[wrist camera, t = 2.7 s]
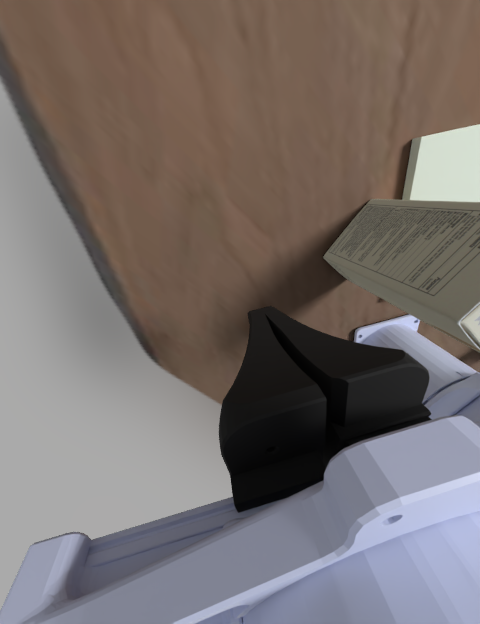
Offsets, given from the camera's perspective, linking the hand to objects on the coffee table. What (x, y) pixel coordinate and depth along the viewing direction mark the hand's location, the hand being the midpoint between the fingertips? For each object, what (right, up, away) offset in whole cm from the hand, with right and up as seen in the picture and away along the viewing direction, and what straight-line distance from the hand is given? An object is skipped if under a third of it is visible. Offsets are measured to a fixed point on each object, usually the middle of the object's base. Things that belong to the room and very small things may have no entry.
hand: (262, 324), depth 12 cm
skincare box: (+10, +7, +9) cm, 15 cm away
